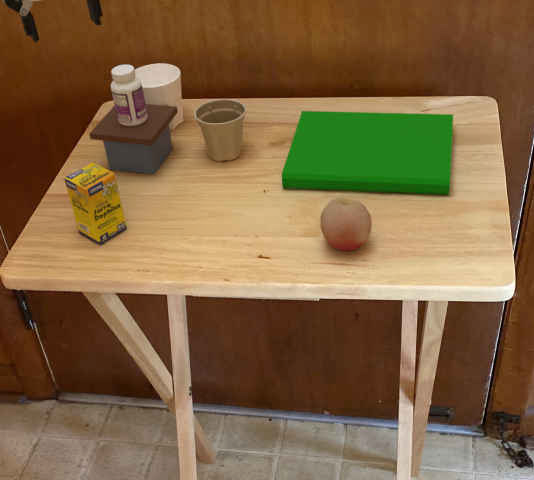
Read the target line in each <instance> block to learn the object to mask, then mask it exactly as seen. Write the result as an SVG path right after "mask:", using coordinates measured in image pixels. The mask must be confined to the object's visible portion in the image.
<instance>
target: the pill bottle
mask: <svg viewBox="0 0 534 480" xmlns="http://www.w3.org/2000/svg"><path fill="white" fill-rule="evenodd" d="M135 70H136V69H135V67H134V66H133V65H131V64H119V65H117V66H115V67H113V68H112V69H111V71H110V72H111V78H112V81H111V83H110V91H111V95H112V100H113V103H114V105H115V108H116V113H117V117H118V121H119V123H120V124H122V125H124V126H137V125H140V124H142V123H144V122H145V121H146V120H147V118H148V114H147V109H146V104H145V99H144V94H143V89H142V84H141V81H140V79H139V78H138V77H136V76H135Z"/></svg>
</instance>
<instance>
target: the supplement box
mask: <svg viewBox="0 0 534 480" xmlns="http://www.w3.org/2000/svg"><path fill="white" fill-rule="evenodd" d="M63 180H64V184H65V188H66V191H67V195H68V198H69V202H70V206H71V209H72V213H73V217H74V220H75V225H76V227H77V231H78V233H79V234H80V235H82V236H83V237H85V238H87V239H89V240H90V241H92V242H94V243H96V244H97V245H99V246H102V245H103V244H105V243H106V242H107V241H109V240H110V239H113V238H115V237H116V236H117V235H119V234H121V233H123V232H124V231H127V230H128V226H127V223H126V218H125V214H124V209H123V205H122V201H121V195H120V192H119V188H118V183H117V178H116V175H115V172H113V171H112V170H110V169H107V168H104V167H103V166H101V165H99V164H98V163H95V162H93V161H92V162H90V163H89V164H87V165H86V166H84V167H82V168H80V169H78V170H76V171H74V172H72V173H70V174H69V175H65V176H64V178H63Z"/></svg>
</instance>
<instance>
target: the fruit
mask: <svg viewBox="0 0 534 480" xmlns="http://www.w3.org/2000/svg"><path fill="white" fill-rule="evenodd" d="M319 219H320V221H319V222H320V230H321V233H322V235H323V238H324V239H325V240H326V242H327V243H328V244H329V245H330V246H332V247H333V248H334V249H336V250H339V251H343V252H351V251H355V250H358V249H360V248H361V247H362V246H363V245H364V244H365V243H366V242H367V241H368V239H369V237H370V235H371V231H372V226H373V225H372V222H373V221H372V216H371V213H370V211H369V210H368V209H367V207H366V206H365V204H363V203H362V202H361V201H358V200H356V199H355V200H354V199H347V198H344V197H337V198H334V199H332V200H330V201H329V202H327V204H326V205H325V206H324V208H323V209H322V212H321V214H320V218H319Z"/></svg>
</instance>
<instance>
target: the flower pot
mask: <svg viewBox="0 0 534 480" xmlns="http://www.w3.org/2000/svg"><path fill="white" fill-rule="evenodd" d="M246 114H247V106H246V104H244V103H243V102H241V101H240V100H238V99H237V100H236V99H233V98H232V99H231V98H218V99H212V100H208V101H206V102H203V103H201V104H200V105H199V106H197V107H196V108H195V110H194V112H193V117H194V119H195V120H196V121H197V125H199V127H200V130H201V133H202V137H203V140H204V143H205V147H206V151H207V155H208V157H209V158H210V159H211V160H213V161H216V162H224V161H233V160H235V159H237V158H239V157H240V156H241V155H242V152H243V129H244V127H243V126H244V121H245V116H246Z"/></svg>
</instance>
